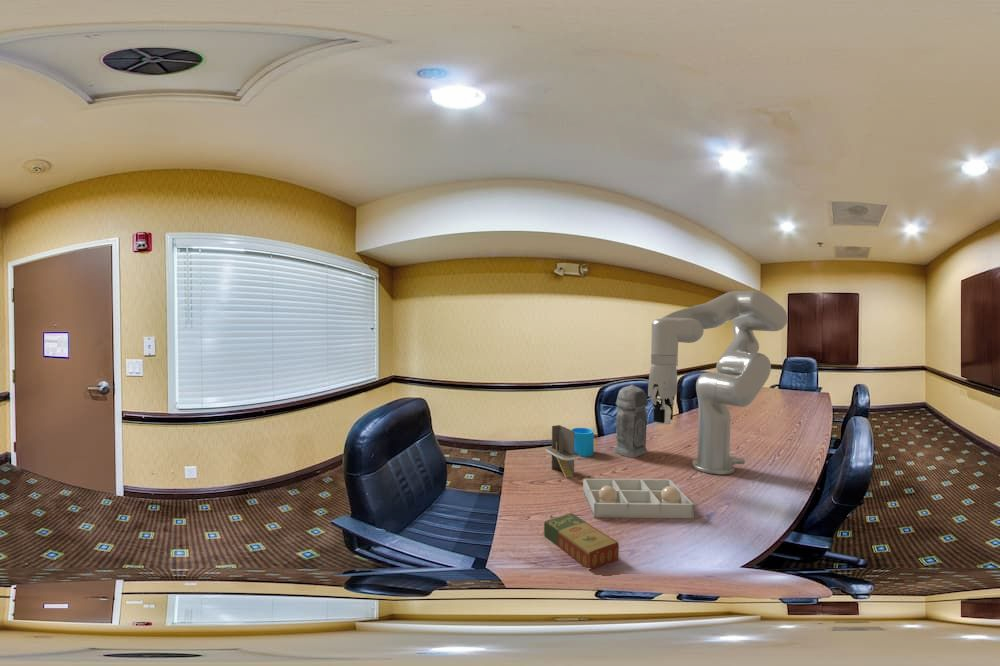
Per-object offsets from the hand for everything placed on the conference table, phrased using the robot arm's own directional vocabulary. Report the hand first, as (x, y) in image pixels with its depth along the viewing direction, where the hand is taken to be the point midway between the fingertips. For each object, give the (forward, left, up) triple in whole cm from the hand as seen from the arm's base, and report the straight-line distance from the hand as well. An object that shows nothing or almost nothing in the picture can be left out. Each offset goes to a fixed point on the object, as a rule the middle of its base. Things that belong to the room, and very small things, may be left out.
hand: (663, 419), depth 137 cm
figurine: (+2, -28, -19) cm, 34 cm away
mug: (+21, -26, -19) cm, 39 cm away
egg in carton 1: (+21, +20, -18) cm, 34 cm away
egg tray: (+13, +16, -19) cm, 28 cm away
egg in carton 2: (+5, +20, -18) cm, 27 cm away
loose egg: (0, 0, -1) cm, 1 cm away
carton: (+31, +38, -20) cm, 53 cm away
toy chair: (+29, -7, -20) cm, 36 cm away
